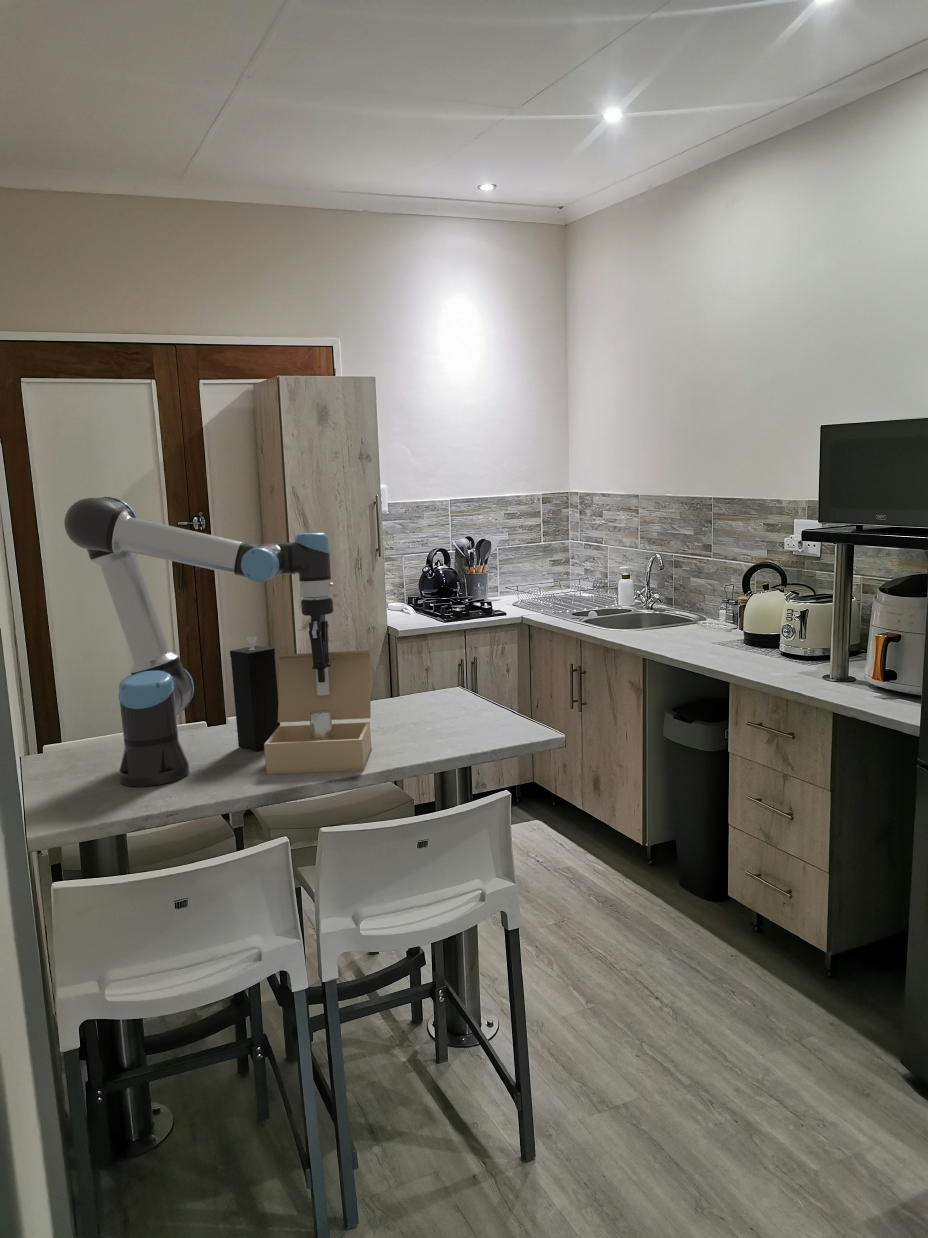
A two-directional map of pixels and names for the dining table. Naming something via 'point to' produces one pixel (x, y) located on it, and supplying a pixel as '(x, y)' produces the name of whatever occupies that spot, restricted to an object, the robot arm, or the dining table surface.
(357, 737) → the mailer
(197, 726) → the dining table surface
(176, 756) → the robot arm
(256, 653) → the black pedestal
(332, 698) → the lid
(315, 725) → the tin
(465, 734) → the dining table surface
